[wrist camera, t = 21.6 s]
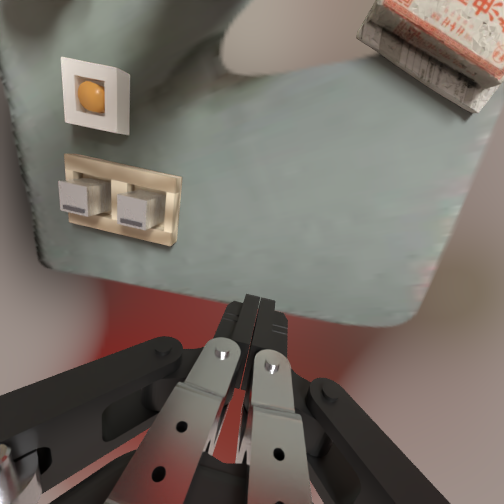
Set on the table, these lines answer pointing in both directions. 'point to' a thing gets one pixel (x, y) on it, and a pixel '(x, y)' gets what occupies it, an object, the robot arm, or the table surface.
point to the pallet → (126, 181)
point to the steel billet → (85, 196)
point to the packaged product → (442, 44)
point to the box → (115, 95)
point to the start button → (92, 96)
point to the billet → (140, 209)
